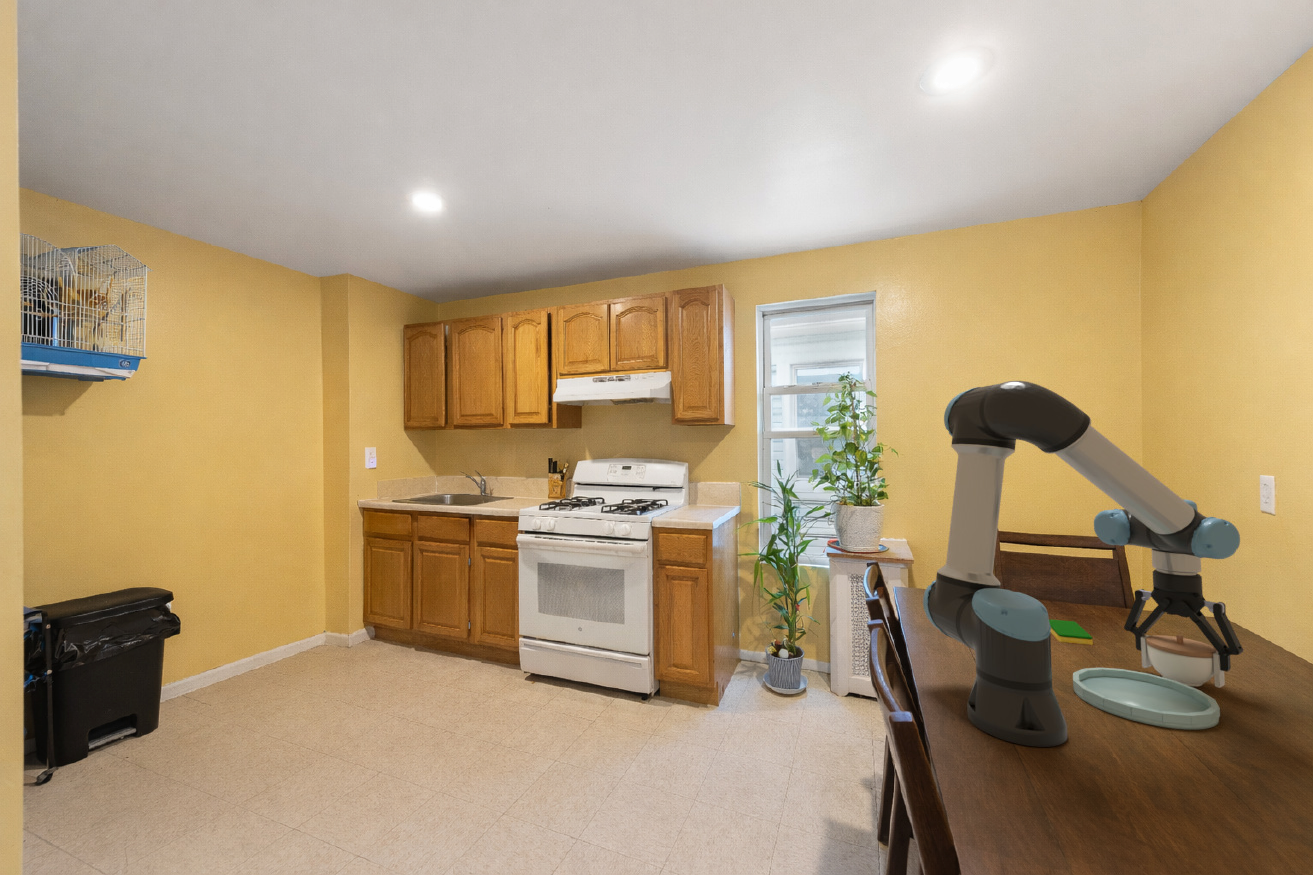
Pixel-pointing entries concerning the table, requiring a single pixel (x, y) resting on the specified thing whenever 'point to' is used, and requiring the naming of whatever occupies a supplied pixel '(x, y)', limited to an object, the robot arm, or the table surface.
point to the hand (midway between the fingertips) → (1181, 675)
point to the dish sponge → (1070, 632)
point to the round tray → (1146, 698)
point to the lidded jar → (1181, 659)
